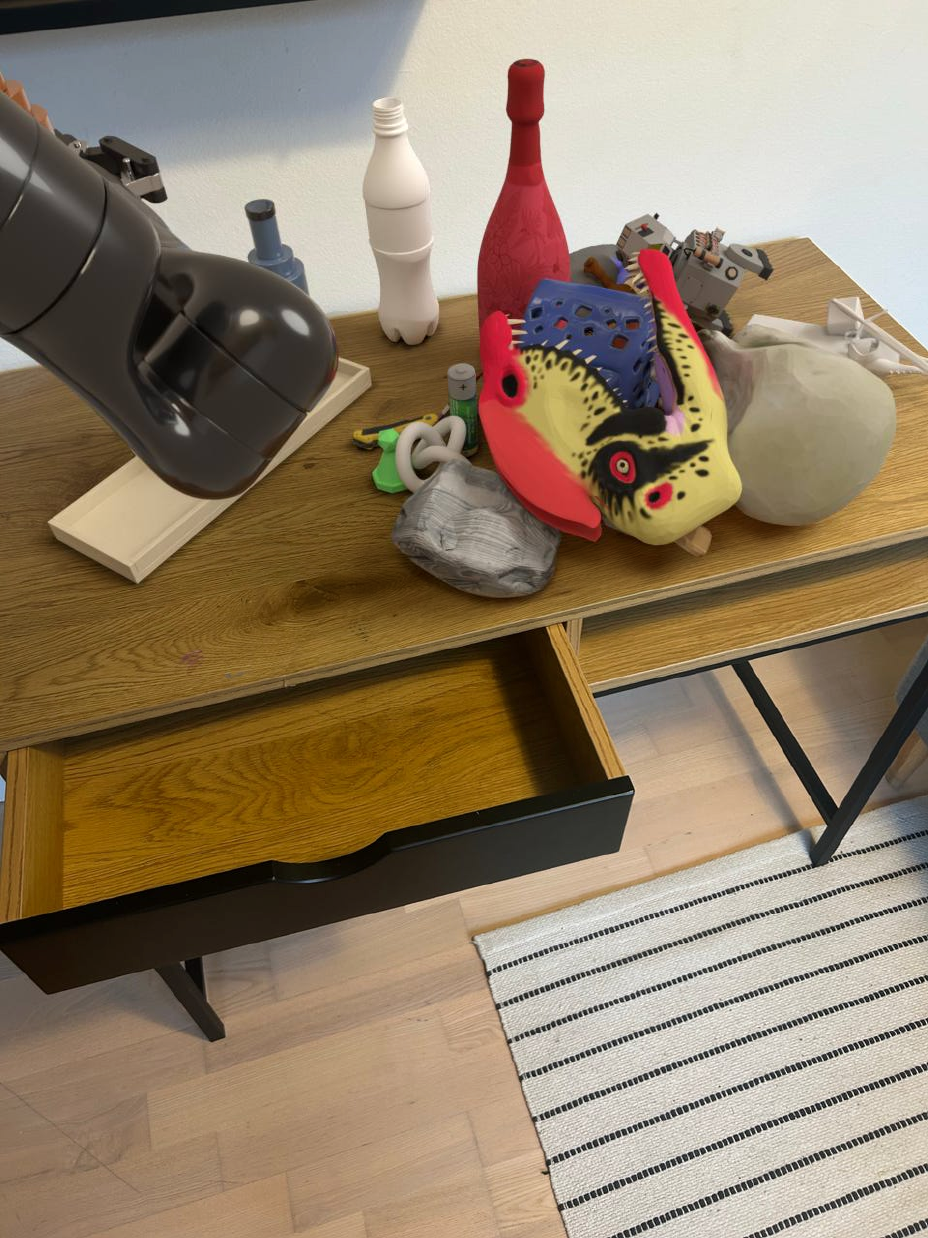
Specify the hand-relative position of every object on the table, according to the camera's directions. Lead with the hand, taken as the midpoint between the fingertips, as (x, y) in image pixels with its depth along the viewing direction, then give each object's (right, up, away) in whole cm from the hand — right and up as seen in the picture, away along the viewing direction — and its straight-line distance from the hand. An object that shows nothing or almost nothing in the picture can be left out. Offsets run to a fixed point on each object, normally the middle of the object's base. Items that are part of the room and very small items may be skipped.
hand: (6, 159), depth 57 cm
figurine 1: (+63, +8, +42) cm, 76 cm away
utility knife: (+27, -10, +34) cm, 44 cm away
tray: (+6, -14, +32) cm, 36 cm away
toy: (+52, -9, +15) cm, 55 cm away
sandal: (+47, -18, +20) cm, 54 cm away
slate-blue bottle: (+12, -5, +38) cm, 40 cm away
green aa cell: (+28, -9, +34) cm, 45 cm away
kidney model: (+46, +1, +41) cm, 62 cm away
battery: (+30, -13, +31) cm, 46 cm away
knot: (+28, -17, +28) cm, 43 cm away
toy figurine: (+45, +2, +39) cm, 60 cm away
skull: (+48, -9, +17) cm, 52 cm away
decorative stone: (+33, -21, +15) cm, 42 cm away
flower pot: (+39, -12, +25) cm, 48 cm away
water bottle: (+24, +4, +46) cm, 52 cm away
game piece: (+23, -17, +29) cm, 41 cm away
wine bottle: (+37, -1, +41) cm, 56 cm away
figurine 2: (+61, +2, +39) cm, 72 cm away
